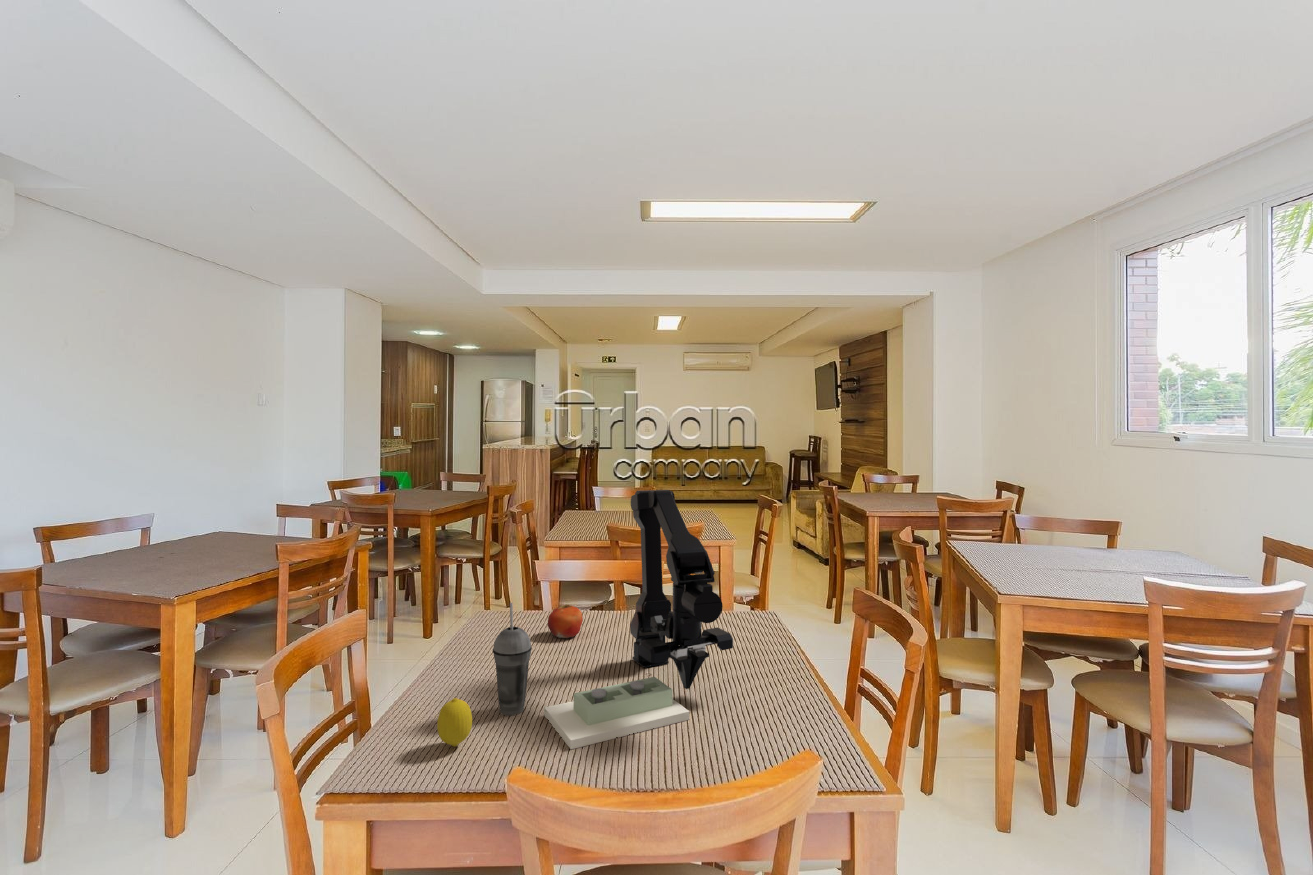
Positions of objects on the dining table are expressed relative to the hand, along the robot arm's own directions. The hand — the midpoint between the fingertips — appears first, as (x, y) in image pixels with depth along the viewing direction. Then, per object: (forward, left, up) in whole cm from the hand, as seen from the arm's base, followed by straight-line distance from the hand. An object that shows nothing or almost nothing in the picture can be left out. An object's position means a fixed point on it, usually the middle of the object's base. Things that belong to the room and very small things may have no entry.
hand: (686, 688), depth 118 cm
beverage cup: (+31, -12, -3) cm, 34 cm away
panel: (+14, 0, -1) cm, 14 cm away
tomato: (+7, -49, -3) cm, 50 cm away
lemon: (+43, -3, -3) cm, 44 cm away
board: (+15, 0, -2) cm, 15 cm away
